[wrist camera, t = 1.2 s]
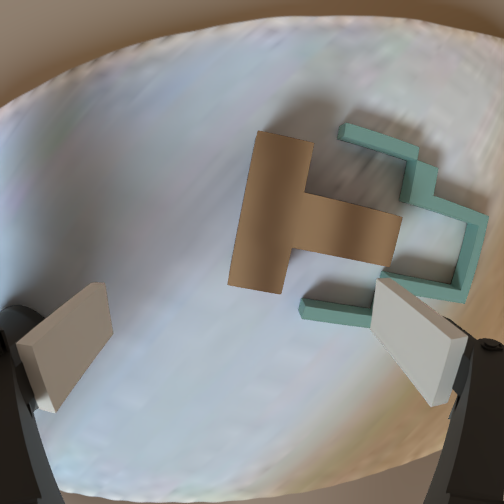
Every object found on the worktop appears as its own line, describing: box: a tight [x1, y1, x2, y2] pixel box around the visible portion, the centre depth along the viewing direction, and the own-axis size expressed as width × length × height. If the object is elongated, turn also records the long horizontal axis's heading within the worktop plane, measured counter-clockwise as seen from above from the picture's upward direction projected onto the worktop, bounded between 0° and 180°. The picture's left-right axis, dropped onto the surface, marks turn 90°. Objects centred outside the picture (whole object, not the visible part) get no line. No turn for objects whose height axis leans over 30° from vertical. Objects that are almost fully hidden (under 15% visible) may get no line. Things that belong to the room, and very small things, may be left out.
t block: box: [228, 131, 402, 294], centre depth 31 cm, size 15×14×6 cm
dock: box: [298, 123, 489, 328], centre depth 34 cm, size 22×21×2 cm
